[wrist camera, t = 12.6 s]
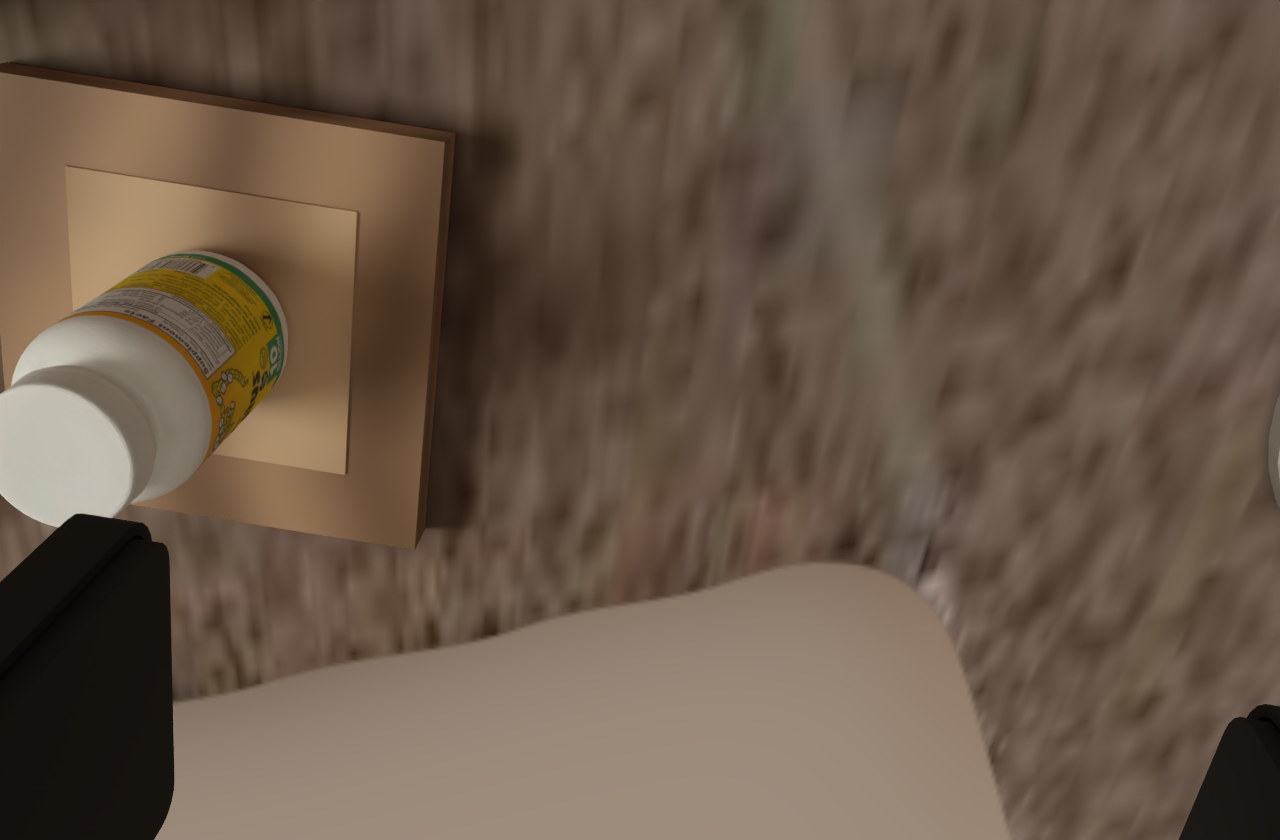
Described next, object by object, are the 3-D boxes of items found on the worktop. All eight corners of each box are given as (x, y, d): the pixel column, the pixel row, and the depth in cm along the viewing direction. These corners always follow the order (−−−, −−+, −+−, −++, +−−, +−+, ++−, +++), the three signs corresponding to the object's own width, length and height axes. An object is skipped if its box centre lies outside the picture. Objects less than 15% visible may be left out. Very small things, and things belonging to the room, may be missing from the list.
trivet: (455, 132, 37) (444, 142, 36) (425, 528, 43) (414, 551, 41) (6, 62, 37) (-23, 69, 36) (35, 466, 43) (11, 486, 41)
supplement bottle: (197, 211, 37) (29, 311, 28) (328, 334, 38) (207, 467, 29) (95, 322, 39) (-93, 449, 30) (224, 437, 40) (79, 590, 31)
